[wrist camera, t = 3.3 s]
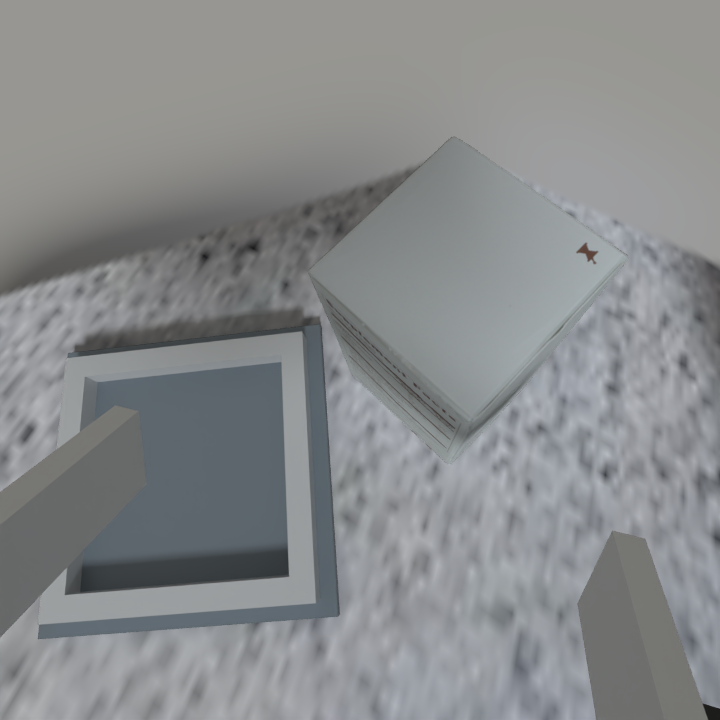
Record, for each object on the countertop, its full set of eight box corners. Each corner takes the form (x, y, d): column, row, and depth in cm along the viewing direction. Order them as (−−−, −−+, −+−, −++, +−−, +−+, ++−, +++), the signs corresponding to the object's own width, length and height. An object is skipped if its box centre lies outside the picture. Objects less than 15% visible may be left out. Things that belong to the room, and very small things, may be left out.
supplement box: (438, 287, 29) (457, 124, 17) (540, 372, 27) (643, 254, 15) (347, 375, 28) (299, 267, 16) (445, 471, 26) (475, 428, 14)
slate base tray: (321, 328, 29) (315, 316, 27) (339, 614, 24) (334, 621, 23) (74, 356, 30) (54, 346, 28) (46, 636, 25) (19, 644, 24)
